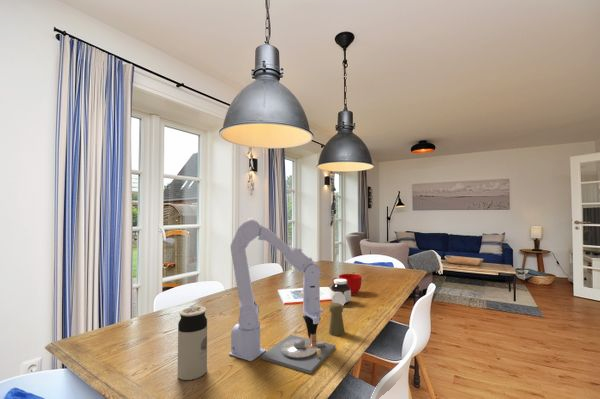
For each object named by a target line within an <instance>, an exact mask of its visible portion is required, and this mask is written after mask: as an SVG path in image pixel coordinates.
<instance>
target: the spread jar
mask: <svg viewBox="0 0 600 399" xmlns="http://www.w3.org/2000/svg"><path fill="white" fill-rule="evenodd" d="M330 299H331V302H332V303H339V304H341V305H342V306H345V305H348V304H349V303H350V302H351V299H352V295H351V289H350V287H349V285H348V284H347V280H346V279H339V278H338V279H334V284H333V283H332V285H331V286H330ZM344 304H345V305H344Z"/></svg>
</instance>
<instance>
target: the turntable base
mask: <svg viewBox="0 0 600 399" xmlns="http://www.w3.org/2000/svg"><path fill="white" fill-rule="evenodd" d="M292 339H297V340H295V341H294V347H295V348H304V347H305V341H304V340H302V339H308V340H310V339H309V338H306V337H301V336H298V335H294V334H289V336H287V337H285V338H284V339H282V340H281V341H280V342H278V343H277V344H275V345H274V346H273V347H271V348H269V349H268V350H266V351H265V352H264V353H262V354H261V355H260V360H263V361H266V362H269V363H272V364H276V365H279V366H283V367H286V368H289V369H293V370H296V371H298V372H302V373H305V374H308V375H312V373H314V372H315V370H316V369H317V368H318V367H319V366H320V365H321V364H322V363H323V362H324V361H325V360H326V359H327V358H328V357H329V355H331V354H332V352H334V351H335V349H336V344H332V343H328V342H325V346H322V347H318V349H317V353H316V354H315V355H313V356H311V357H309V358H304V359H293V358H289V357H286V356H285V355H283V354H282V352H281V346H282V344H283V343H284V342H286V341H289V340H292ZM316 342H321V341H319V340H316Z"/></svg>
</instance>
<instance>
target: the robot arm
mask: <svg viewBox="0 0 600 399" xmlns="http://www.w3.org/2000/svg"><path fill="white" fill-rule="evenodd" d="M257 237H258V240H259V241H266V242H268V244H270V245H271V246H273V247H274V248H275V249H277V250H278V251H279V252H281V253H282V254H283V255H284V260H285V261H286V263H288V264H290V266H291V267H293V268H294V269H295V270H296V271H298V272H301V274H302V275H303V279H302V280H303V283H302V304H303V305H302V314H303V316H302V318H303V320H304V322H305V325H306V326H305V327H306V330H307V336H308V339H310V333H313V332H315V333H316V334H317V330H318V326H319V325H320V322H321V319H322V318H321V317H320V316H321V313H324V309H323V308H321V304H320V303H321V298H320V297H321V295H320V290H321V288H320V277H321V276H322V271H321V269H320V266H319V265H318V264H317V263H316V262H315V261H314V260H313V258H312V257H308V255H306V254H305V253H303V252H302V251H303V250H302V249H301V247H296V246H294V247H290V246H289V245H288V244H287V243H286V242H285V241H283V240H282V239H281V238H280V237H278V236H277V235H276V233H274V232H273V231H272V230H271V229H270V228H268V227H266V226H265V225H263V224H260V223H259V222H258V221H257V220H255V219H248V220H246V221H244V222H242V224H241V225H240V226H239V227H238V228H237V230H236V232H235V235H234V236H233V239H232V240H231V241H232V242H231V244H230V253H231V258H232V259H231V260H232V265H233V272H234V276H235V282H236V288H237V294H238V303H239V304H238V305H239V306H238V307H239V316H238V323H236V324H235V325H234V326H233V328H232V329H231V333H230V352H229V354H228V355H230V356H233V357H236V358H239V359H242V360H246V361H249V362H252V361H254V360H255V359H256V358H258V357H260V356H261V355H263V354H264V353H265V352H267V349H265V348H262V347H261V323H260V321H259V314H260V307H259V306H258V304H257V302H256V299H255V296H254V292H253V287H252V280H251V276H250V268H249V264H248V258H247V252H246V248H247V247H248V245H250V243H251V242H252V241H254V240H255V239H256V238H257Z"/></svg>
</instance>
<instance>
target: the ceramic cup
mask: <svg viewBox="0 0 600 399" xmlns="http://www.w3.org/2000/svg"><path fill="white" fill-rule="evenodd" d="M362 277H363V276H362V275H360V274H356V273H343V274H340V275H339V276H338V277H334V278H333V279H332V280H331V281H332V285H333V284H334V280H335V279H346V280H347V284H348V285H349V287H350V289H351V296H354V295H353V294H356V295H357V294H358V293H359V291H360V289H361V286H362V280H363V279H362Z"/></svg>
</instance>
